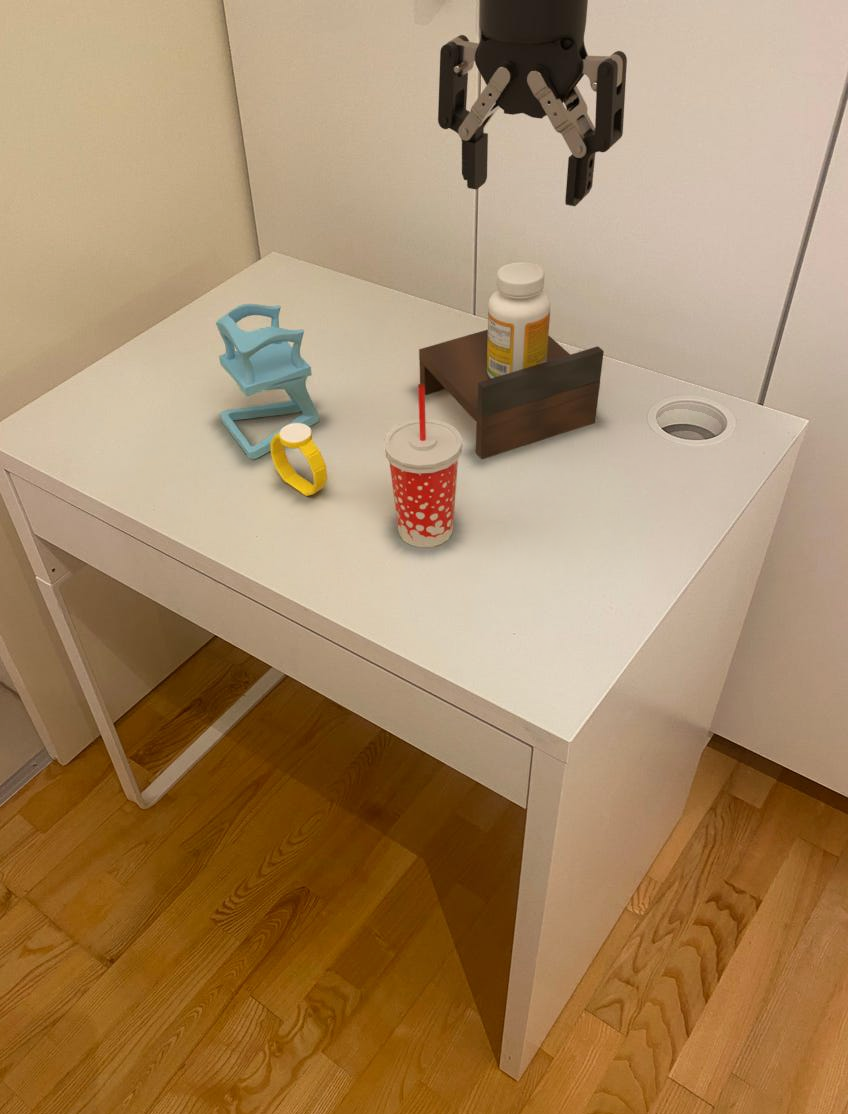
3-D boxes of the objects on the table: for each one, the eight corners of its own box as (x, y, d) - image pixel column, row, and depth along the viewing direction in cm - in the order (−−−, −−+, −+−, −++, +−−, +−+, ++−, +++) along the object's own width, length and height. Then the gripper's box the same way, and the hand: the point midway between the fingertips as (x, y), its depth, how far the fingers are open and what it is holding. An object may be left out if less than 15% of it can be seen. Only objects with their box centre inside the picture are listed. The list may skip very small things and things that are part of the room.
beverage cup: (457, 556, 81) (458, 410, 71) (384, 551, 82) (374, 407, 72) (465, 508, 85) (466, 364, 75) (395, 504, 86) (386, 361, 76)
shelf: (526, 357, 101) (530, 288, 95) (595, 422, 92) (604, 350, 87) (419, 389, 98) (417, 320, 93) (481, 459, 90) (483, 387, 84)
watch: (268, 480, 90) (258, 425, 85) (291, 466, 91) (282, 411, 86) (313, 508, 86) (305, 452, 82) (336, 493, 88) (329, 437, 83)
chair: (330, 433, 94) (318, 316, 85) (250, 461, 92) (229, 344, 83) (297, 394, 99) (282, 281, 90) (220, 420, 97) (197, 306, 88)
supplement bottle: (545, 357, 92) (552, 256, 85) (546, 389, 89) (554, 287, 82) (486, 357, 93) (489, 257, 86) (486, 389, 89) (488, 288, 82)
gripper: (656, -56, 66) (627, 189, 78) (468, -67, 72) (467, 163, 84) (613, -27, 62) (589, 228, 74) (417, -41, 68) (423, 198, 80)
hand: (524, 193), depth 79 cm, fingers open, 8 cm apart
